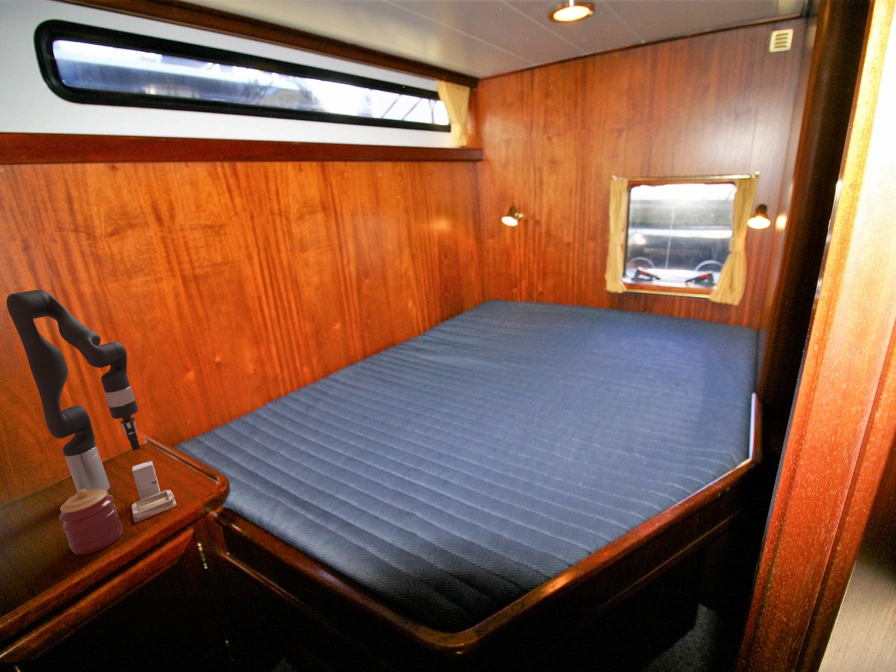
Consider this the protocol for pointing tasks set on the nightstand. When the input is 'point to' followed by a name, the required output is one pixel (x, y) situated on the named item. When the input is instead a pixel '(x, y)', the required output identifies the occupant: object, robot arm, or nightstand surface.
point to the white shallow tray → (153, 505)
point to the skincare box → (146, 479)
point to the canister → (90, 521)
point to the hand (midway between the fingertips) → (135, 445)
